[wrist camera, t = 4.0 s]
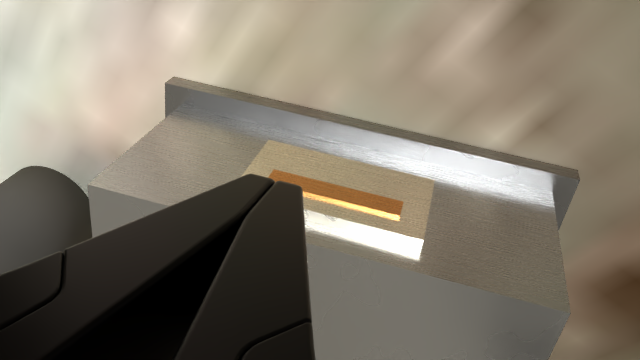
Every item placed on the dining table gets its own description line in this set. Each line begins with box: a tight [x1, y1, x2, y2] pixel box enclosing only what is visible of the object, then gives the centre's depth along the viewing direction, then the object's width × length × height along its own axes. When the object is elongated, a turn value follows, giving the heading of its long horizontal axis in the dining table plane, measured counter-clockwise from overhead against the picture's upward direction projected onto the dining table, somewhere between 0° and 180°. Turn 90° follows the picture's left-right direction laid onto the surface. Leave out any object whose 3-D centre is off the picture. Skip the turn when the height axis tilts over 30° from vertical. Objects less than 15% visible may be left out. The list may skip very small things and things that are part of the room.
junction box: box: [88, 77, 580, 360], centre depth 18 cm, size 7×13×6 cm, turn 82°
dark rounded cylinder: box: [0, 166, 92, 275], centre depth 23 cm, size 4×4×4 cm
